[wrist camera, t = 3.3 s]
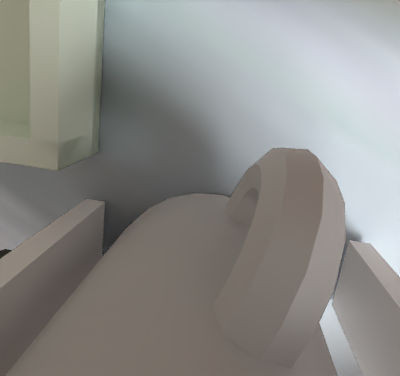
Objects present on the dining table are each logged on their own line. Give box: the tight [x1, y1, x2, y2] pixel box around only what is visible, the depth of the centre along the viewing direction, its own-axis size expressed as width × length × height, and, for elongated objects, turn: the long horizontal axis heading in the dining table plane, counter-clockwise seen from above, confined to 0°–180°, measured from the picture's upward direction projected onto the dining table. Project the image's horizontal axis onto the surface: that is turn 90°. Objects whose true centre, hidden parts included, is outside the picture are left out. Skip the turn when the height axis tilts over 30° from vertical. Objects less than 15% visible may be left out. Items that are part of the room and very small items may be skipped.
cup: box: [5, 148, 346, 376], centre depth 9 cm, size 7×10×9 cm
